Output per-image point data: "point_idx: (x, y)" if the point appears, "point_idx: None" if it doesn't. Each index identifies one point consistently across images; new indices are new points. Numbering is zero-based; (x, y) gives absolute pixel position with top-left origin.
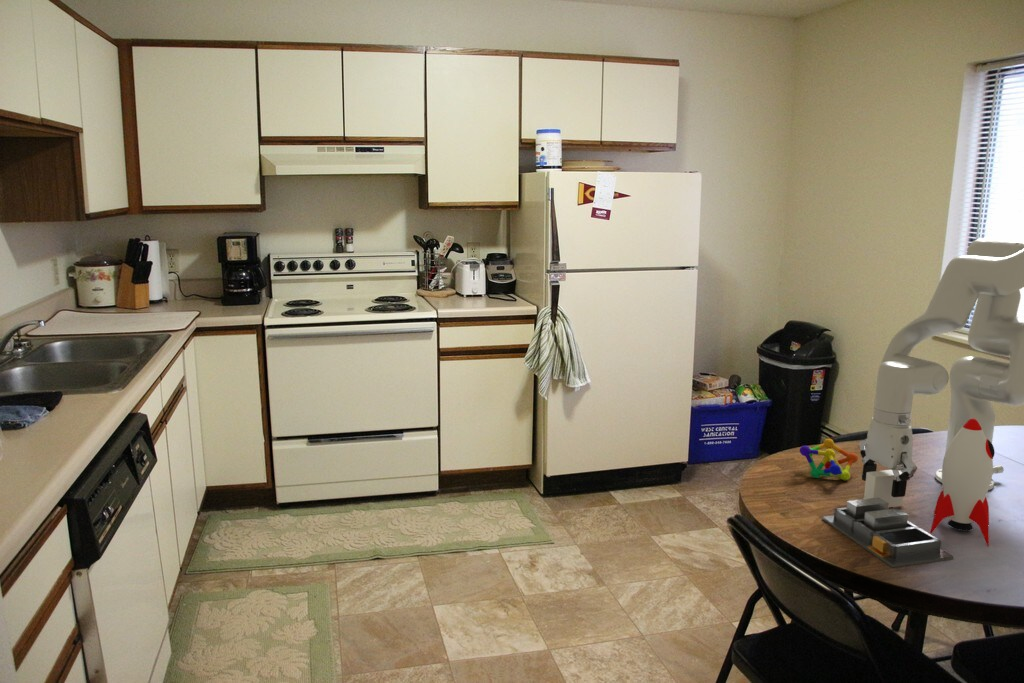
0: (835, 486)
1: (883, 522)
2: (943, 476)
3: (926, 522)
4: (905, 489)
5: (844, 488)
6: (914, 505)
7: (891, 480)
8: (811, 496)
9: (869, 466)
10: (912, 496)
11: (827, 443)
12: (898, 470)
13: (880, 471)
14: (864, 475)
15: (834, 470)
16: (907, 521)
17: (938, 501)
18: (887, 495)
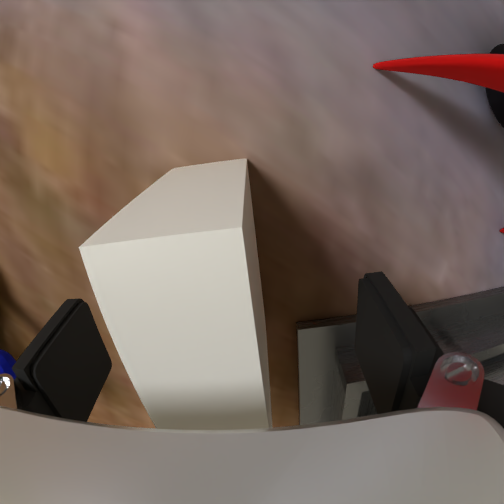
0: (37, 327)
1: None
2: None
3: (436, 168)
4: (398, 296)
5: (47, 308)
6: (245, 82)
7: (261, 350)
8: (137, 427)
9: (67, 414)
10: (128, 30)
11: None
12: (119, 249)
13: (162, 414)
14: (99, 387)
15: None
16: (501, 348)
17: (453, 71)
18: (260, 296)
